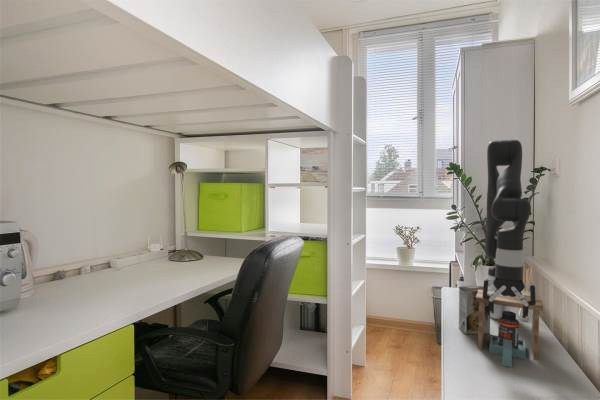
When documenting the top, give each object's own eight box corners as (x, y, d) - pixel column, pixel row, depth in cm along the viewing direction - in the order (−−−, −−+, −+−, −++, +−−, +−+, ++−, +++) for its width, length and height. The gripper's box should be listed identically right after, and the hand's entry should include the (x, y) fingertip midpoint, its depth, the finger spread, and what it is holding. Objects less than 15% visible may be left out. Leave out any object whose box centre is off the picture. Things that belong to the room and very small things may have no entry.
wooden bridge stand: (477, 336, 137) (478, 289, 136) (539, 347, 128) (540, 297, 127) (474, 347, 127) (475, 297, 127) (541, 360, 118) (543, 306, 117)
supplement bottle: (495, 346, 125) (496, 312, 125) (500, 341, 130) (501, 308, 130) (516, 351, 122) (517, 316, 121) (520, 346, 126) (521, 312, 126)
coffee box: (481, 327, 145) (482, 285, 145) (490, 334, 139) (491, 290, 138) (457, 327, 145) (458, 285, 144) (465, 334, 139) (466, 290, 138)
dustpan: (490, 341, 133) (491, 327, 133) (524, 347, 128) (524, 332, 128) (487, 362, 116) (488, 346, 116) (526, 370, 111) (527, 353, 111)
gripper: (535, 263, 116) (534, 315, 117) (484, 258, 123) (483, 307, 124) (537, 268, 110) (535, 323, 111) (482, 263, 117) (481, 314, 117)
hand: (507, 315), depth 117 cm, fingers open, 8 cm apart
